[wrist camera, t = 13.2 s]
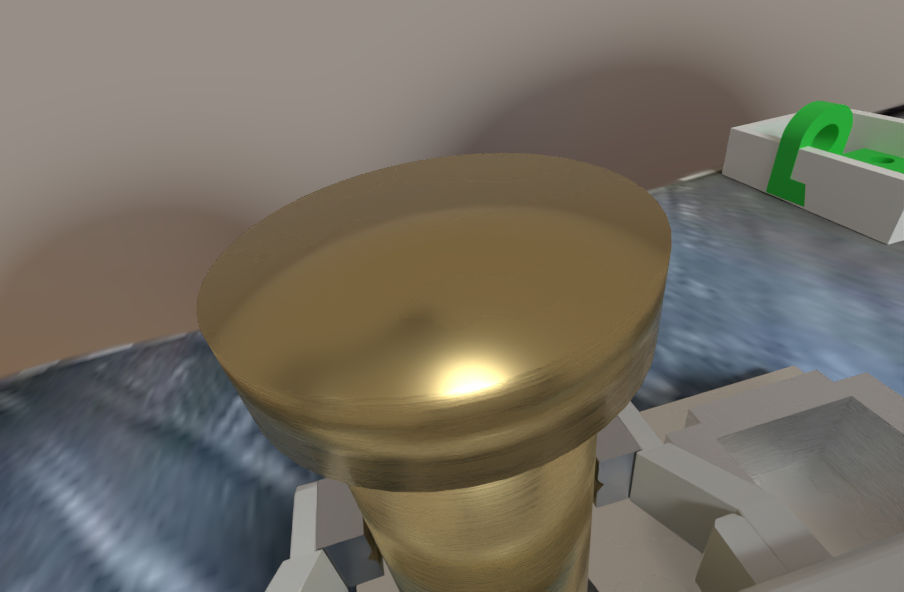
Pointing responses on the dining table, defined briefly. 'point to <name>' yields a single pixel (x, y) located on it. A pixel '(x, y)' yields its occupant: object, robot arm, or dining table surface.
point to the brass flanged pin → (450, 353)
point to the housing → (763, 472)
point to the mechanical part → (819, 146)
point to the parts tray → (831, 173)
